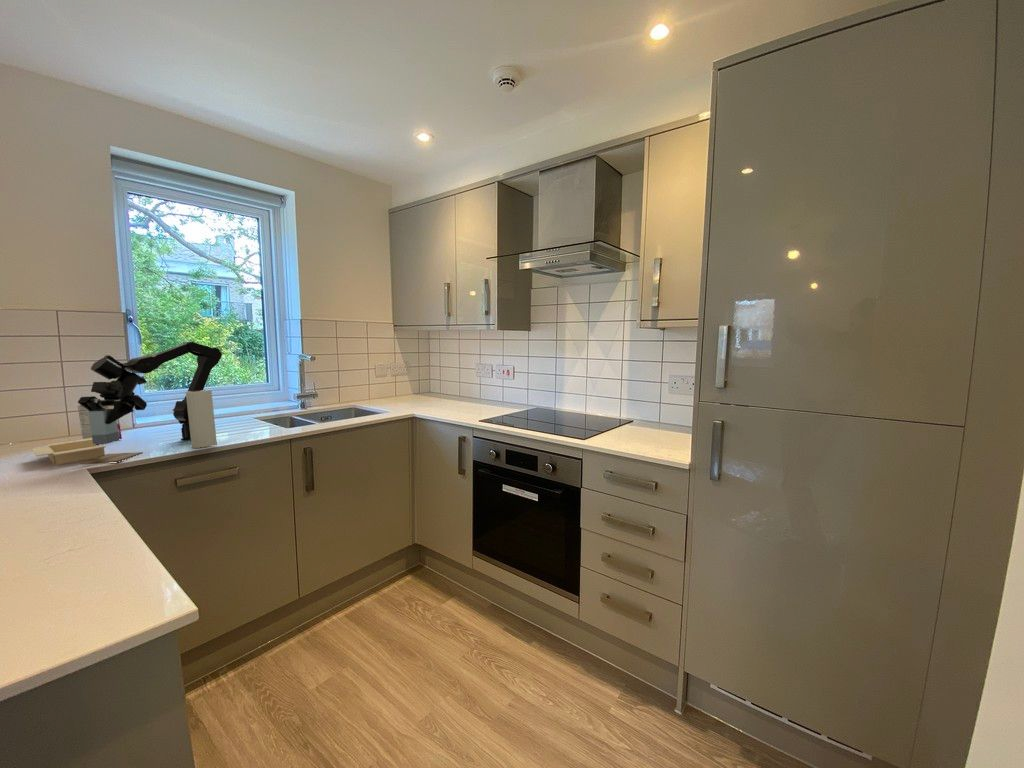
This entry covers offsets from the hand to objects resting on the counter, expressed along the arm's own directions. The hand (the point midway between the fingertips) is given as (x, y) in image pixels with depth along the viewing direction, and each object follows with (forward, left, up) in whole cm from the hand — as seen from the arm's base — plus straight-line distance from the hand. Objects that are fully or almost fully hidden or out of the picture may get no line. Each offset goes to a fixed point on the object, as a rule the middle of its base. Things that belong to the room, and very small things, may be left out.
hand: (100, 423), depth 140 cm
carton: (+12, -7, -13) cm, 19 cm away
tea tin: (0, -1, -7) cm, 7 cm away
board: (-2, -1, -13) cm, 13 cm away
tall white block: (-23, -14, -13) cm, 30 cm away
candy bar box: (+22, -29, -13) cm, 38 cm away
